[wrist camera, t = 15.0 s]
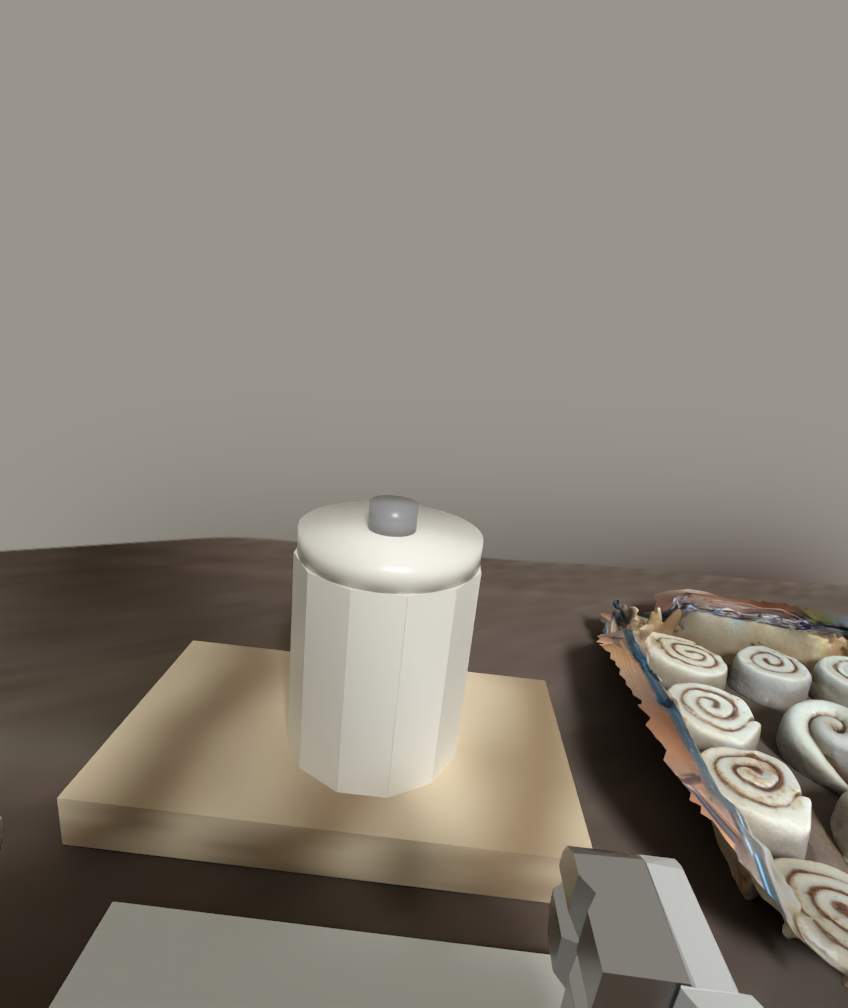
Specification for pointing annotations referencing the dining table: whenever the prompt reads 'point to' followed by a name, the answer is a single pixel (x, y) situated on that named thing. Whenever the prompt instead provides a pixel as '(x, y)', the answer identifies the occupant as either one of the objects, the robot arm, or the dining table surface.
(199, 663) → the maple board
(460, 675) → the lidded storage canister
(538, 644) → the dining table surface
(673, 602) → the baking tray
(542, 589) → the dining table surface
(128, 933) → the rubber mat
